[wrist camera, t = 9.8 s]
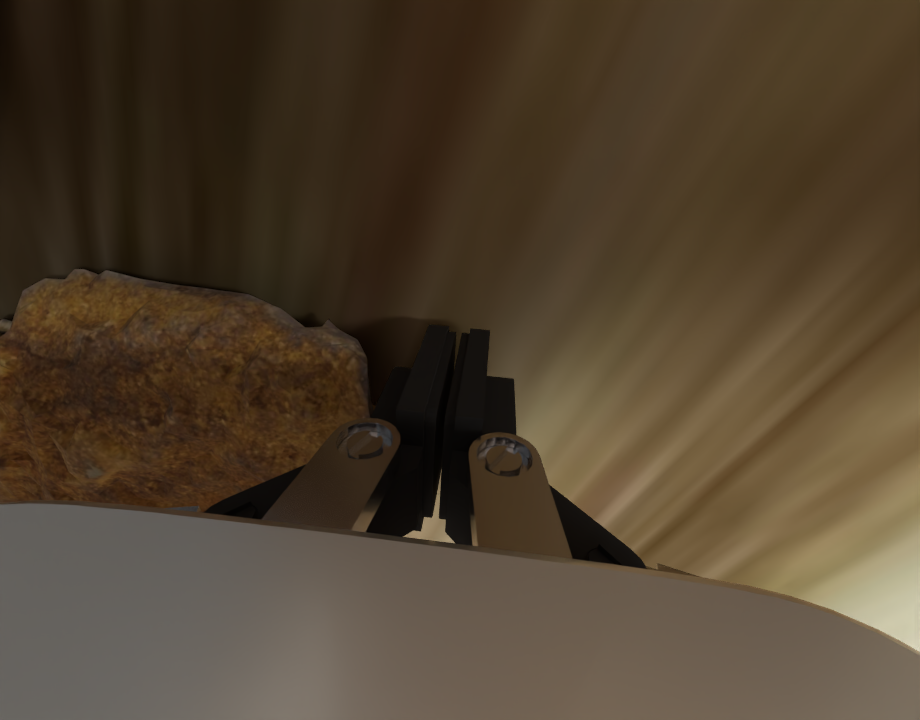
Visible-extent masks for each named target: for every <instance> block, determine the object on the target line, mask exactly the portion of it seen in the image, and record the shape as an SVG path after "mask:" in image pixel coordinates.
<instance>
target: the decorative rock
mask: <svg viewBox="0 0 920 720" xmlns="http://www.w3.org/2000/svg"><path fill="white" fill-rule="evenodd" d="M375 407H376V406H374V405H372V401H371V396H370V387H369V377H368V368H367V357H366V355H365V353H364V351H363V349H362V347H361V345H360V343H359V341H358V340H357V339H355V338H354V337H352V336H350V335H348V334H346V333H344V332H342V331H341V330H339V329H338V328H337V327H336V326H335V325H333V324H332V323H331V322H330V319H328V320H327V321H326V323H325V324H324V325H323V326H322V327H304V326H303V325H301V324H300V323H299V322H298V321H296V320H295V319H294V318H292V317H291V316H290V315H289V314H287V313H286V312H285V311H283V310H282V309H281V308H279V307H276V306H274V305H271V304H269V303H267V302H265V301H263V300H261V299H258V298H256V297H254V296H251V295H249V294H243V293H236V292H229V291H221V290H214V289H206V288H199V287H191V286H183V285H175V284H168V283H163V282H157V281H151V280H145V279H139V278H135V277H131V276H127V275H123V274H119V273H115V272H112V271H108V270H105V271H104V272H102V273H100V274H99V275H98V274H96V273H93V272H90V271H88V270H85V269H74V270H73V271H72V272H71V273H70V274H69V276H68V277H67V278H66V279H50V278H45V279H43V280H41V281H39V282H37V283H36V284H34V285H32V286H30V287H28V288H26V289H24V290H23V292H22V295H21V297H20V300H19V303H18V306H17V308H16V311H15V315H14V318H13V321H10V320H6V319H2V320H1V321H0V503H4V502H17V501H31V500H62V501H86V502H99V503H112V504H124V505H136V506H146V507H155V508H176V507H190V506H199V507H200V509H201V512H204V511H206V510H207V509H208V508H209V507H211V506H212V505H214V504H216V503H218V502H219V501H221V500H223V499H225V498H228V497H230V496H232V495H235V494H237V493H239V492H242V491H244V490H246V489H249V488H251V487H253V486H256V485H258V484H260V483H263V482H265V481H268V480H270V479H272V478H275V477H277V476H279V475H282V474H284V473H286V472H289V471H291V470H293V469H296V468H298V467H300V466H303V465H305V464H307V463H308V462H309V461H310V459H311V458H312V457H313V456H314V454H315V453H316V452H317V451H318V450H319V448H320V447H321V446H322V445H323V444H324V442H325V441H326V440H327V439H328V437H329V436H330V435H331V434H332V433H333V432H334V431H335V430H336V429H337V428H338V427H339V426H341V425H343V424H345V423H347V422H349V421H352V420H356V419H362V418H371V415H372V413H373V411H374V409H375Z"/></svg>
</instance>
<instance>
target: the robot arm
mask: <svg viewBox="0 0 920 720" xmlns="http://www.w3.org/2000/svg"><path fill="white" fill-rule="evenodd" d="M489 336H490V330H481V329H470V333H469V334H468V333H462V336H461V340H460V345H459V350H458V355H457V360H456V364H455V369H454V362H455V346H456V332H449V326H440V325H430V324H429V326H428V329H427V331H426V334H425V336H424V339H423V342H422V344H421V347H420V349H419V352H418V354H417V357H416V360H415V362H414V365H413V367H412V368H406V367H394V369H393V370H392V373H391V375H390V377H389V379H388V381H387V383H386V385H385V388H384V390H383V392H382V394H381V396H380V398H379V400H378V403H377V405H376V407H375V409H374V411H373V413H372V415H371V418H362V419H356V420H352V421H349V422H347V423H345V424H343V425H341V426H339V427H338V428H337V429H336V430H335V431H334V432H333V433H332V434H331V435H330V436H329V437H328V439H327V440H326V441H325V442H324V444H323V445H322V446H321V447H320V448H319V450H318V451H317V452H316V453H315V454H314V456H313V457H312V458H311V459H310V461H309V462H308V463H307V464H305V465H303V466H300V467H298V468H296V469H293V470H291V471H289V472H286V473H284V474H282V475H279V476H277V477H275V478H272V479H270V480H268V481H265V482H263V483H260V484H258V485H256V486H253V487H251V488H249V489H246V490H244V491H242V492H239V493H237V494H235V495H232V496H230V497H228V498H225V499H223V500H221V501H219V502H218V503H216V504H214V505H212V506H211V507H209V508H208V509H207V510H206V511H204V512H201V509H200V507H199V506H190V507H176V508H155V507H146V506H136V505H124V504H112V503H99V502H86V501H62V500H31V501H17V502H4V503H0V720H920V652H919V651H917V650H915V649H913V648H912V647H910V646H908V645H906V644H905V643H903V642H901V641H899V640H897V639H895V638H893V637H891V636H889V635H888V634H886V633H884V632H882V631H880V630H878V629H875V628H873V627H871V626H868V625H866V624H864V623H862V622H859V621H857V620H855V619H852V618H850V617H848V616H845V615H843V614H841V613H838V612H836V611H834V610H831V609H828V608H825V607H822V606H819V605H816V604H813V603H810V602H807V601H804V600H801V599H798V598H795V597H792V596H788V595H784V594H780V593H776V592H772V591H768V590H764V589H760V588H756V587H752V586H748V585H742V584H736V583H730V582H724V581H718V580H713V579H708V578H702V577H699V576H696V575H693V574H690V573H687V572H684V571H681V570H678V569H674V568H671V567H668V566H665V565H662V564H659V563H657V565H656V567H655V569H654V568H651V567H648V566H645V565H644V563H643V562H642V560H641V559H640V558H639V557H638V556H637V555H636V554H635V553H634V552H633V551H632V550H631V549H630V548H629V547H627V546H626V545H625V544H624V543H622V542H621V541H620V540H619V539H617V538H616V537H615V536H613V535H612V534H611V533H610V532H608V531H607V530H606V529H605V528H603V527H602V526H601V525H600V524H598V523H597V522H596V521H594V520H593V519H592V518H591V517H589V516H588V515H587V514H586V513H584V512H583V511H582V510H581V509H579V508H578V507H577V506H576V505H574V504H573V503H572V502H570V501H569V500H568V499H567V498H565V497H564V496H563V495H562V494H560V493H559V492H558V491H557V490H555V489H554V488H553V487H551V486H550V485H549V483H548V480H547V477H546V474H545V470H544V467H543V464H542V461H541V458H540V455H539V453H538V452H537V450H536V448H535V447H534V446H533V445H532V444H531V443H530V442H528V441H527V440H525V439H523V438H521V437H519V436H516V416H515V390H514V379H512V378H502V377H492V376H487V363H488V349H489ZM441 468H442V473H441ZM440 473H441V491H440V509H439V519H446V528H445V532H446V533H447V535H449V536H450V538H451V539H452V540H453V541H454V542H455V543H456V544H454V543H446V542H438V541H431V540H423V539H415V538H407V537H403V536H405V535H406V534H408V533H409V532H411V531H413V530H415V531H421V529H422V524H423V519H424V517H430V518H432V516H433V511H434V506H435V500H436V495H437V490H438V484H439V479H440Z"/></svg>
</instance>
